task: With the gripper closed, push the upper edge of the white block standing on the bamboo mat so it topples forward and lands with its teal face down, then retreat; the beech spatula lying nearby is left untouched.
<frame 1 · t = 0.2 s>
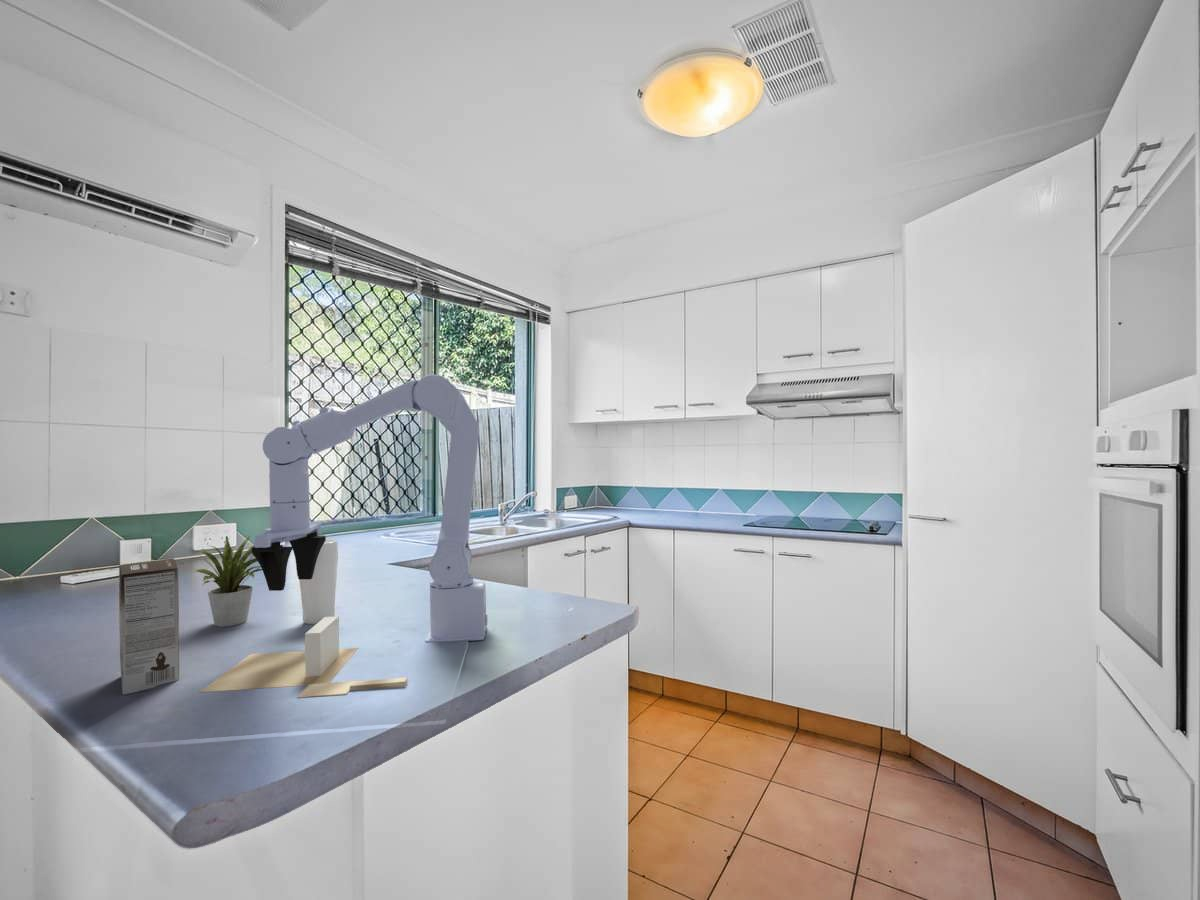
hand: (291, 584, 93), 10 cm above the counter, tool pointing down, fingers open, 7 cm apart
white block: (323, 665, 83), resting on bamboo mat
house plant: (229, 625, 105), on the counter
beech spatula: (355, 691, 75), on the counter
drinking glass: (318, 622, 106), on the counter
bamboo mat: (286, 670, 82), on the counter
coffee box: (150, 680, 80), on the counter
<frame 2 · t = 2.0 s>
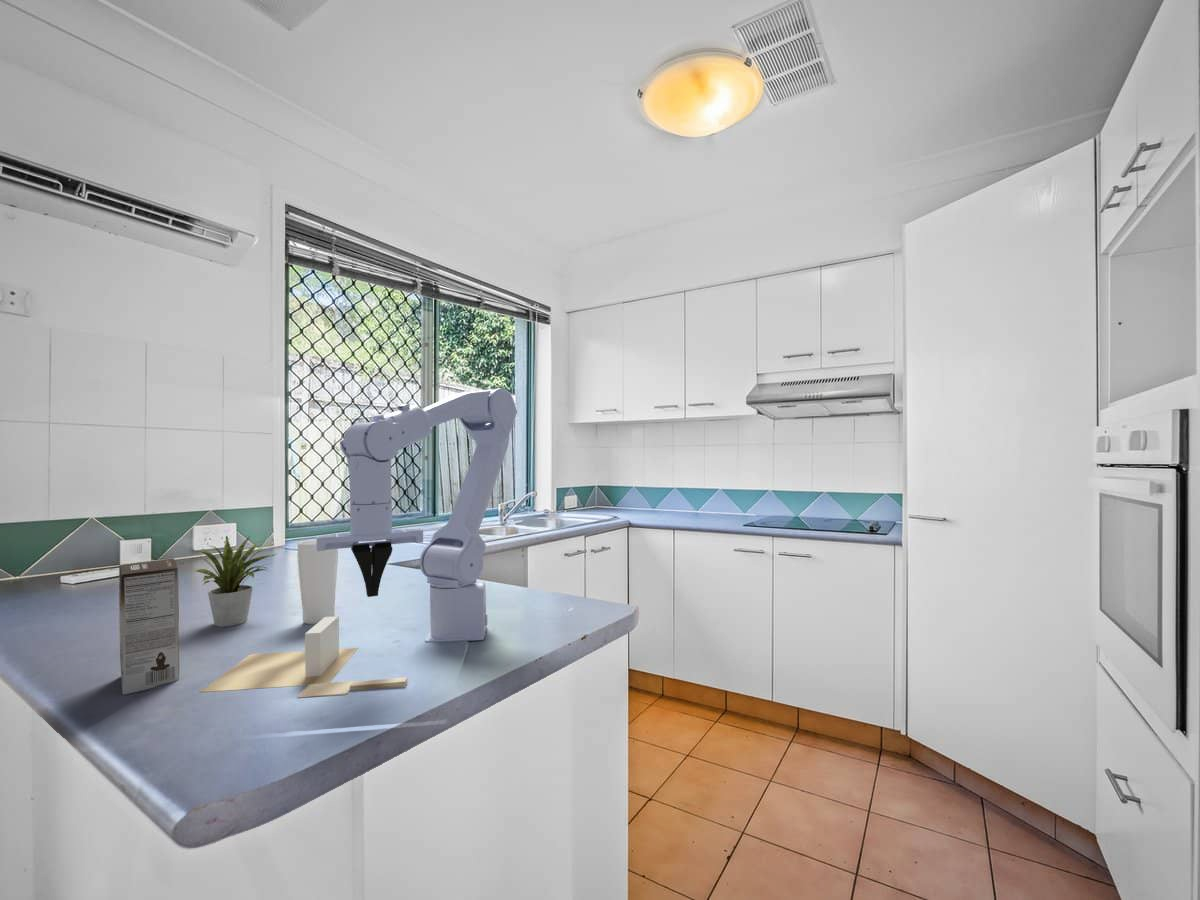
hand: (372, 595, 84), 10 cm above the counter, tool pointing down, fingers closed
nothing on the counter moved.
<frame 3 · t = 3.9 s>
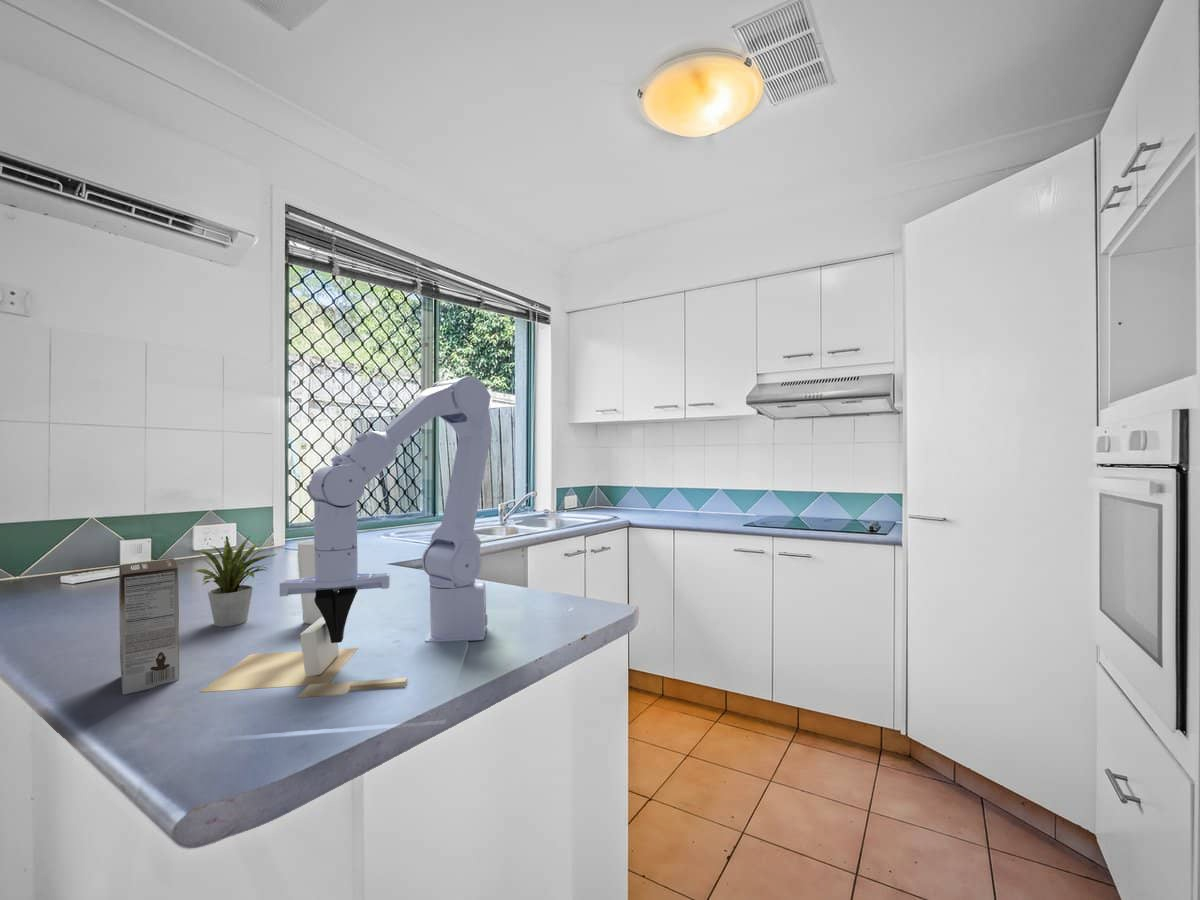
hand: (337, 640, 83), 4 cm above the counter, tool pointing down, fingers closed
white block: (323, 664, 83), point 1 cm above the counter, tilted 6°, touching bamboo mat
everything else where it was.
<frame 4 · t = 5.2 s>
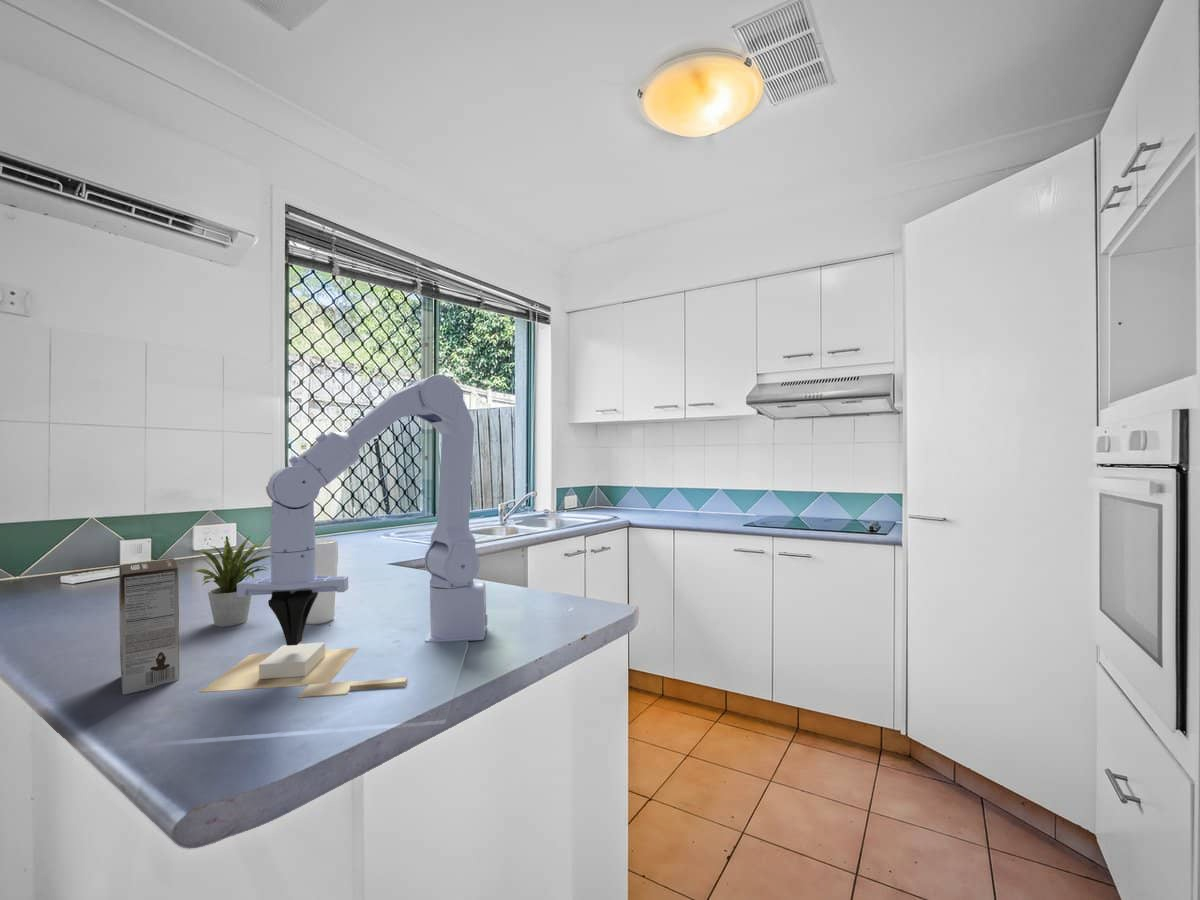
hand: (294, 643, 82), 4 cm above the counter, tool pointing down, fingers closed
white block: (315, 658, 83), point 1 cm above the counter, tilted 90°, touching bamboo mat
everything else where it was.
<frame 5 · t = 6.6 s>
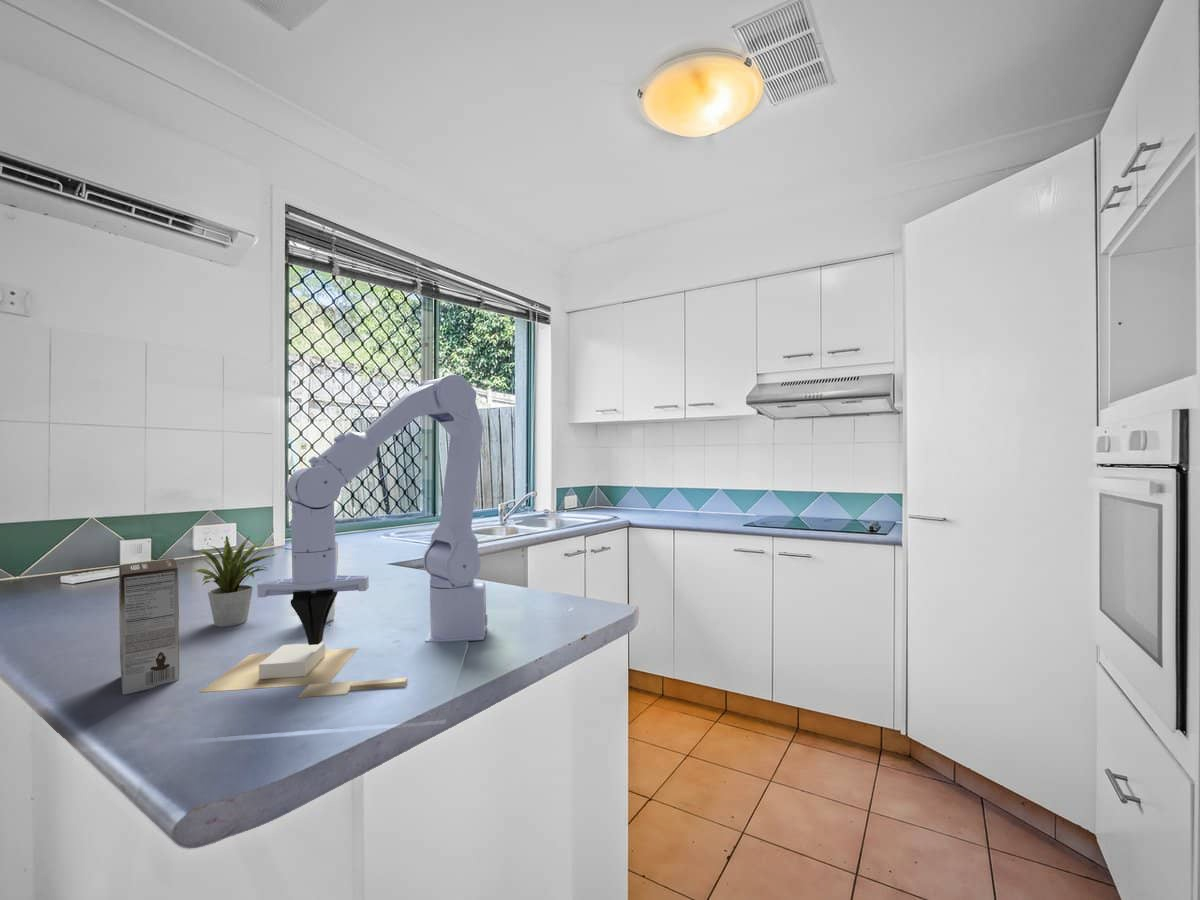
hand: (315, 642, 83), 4 cm above the counter, tool pointing down, fingers closed
nothing on the counter moved.
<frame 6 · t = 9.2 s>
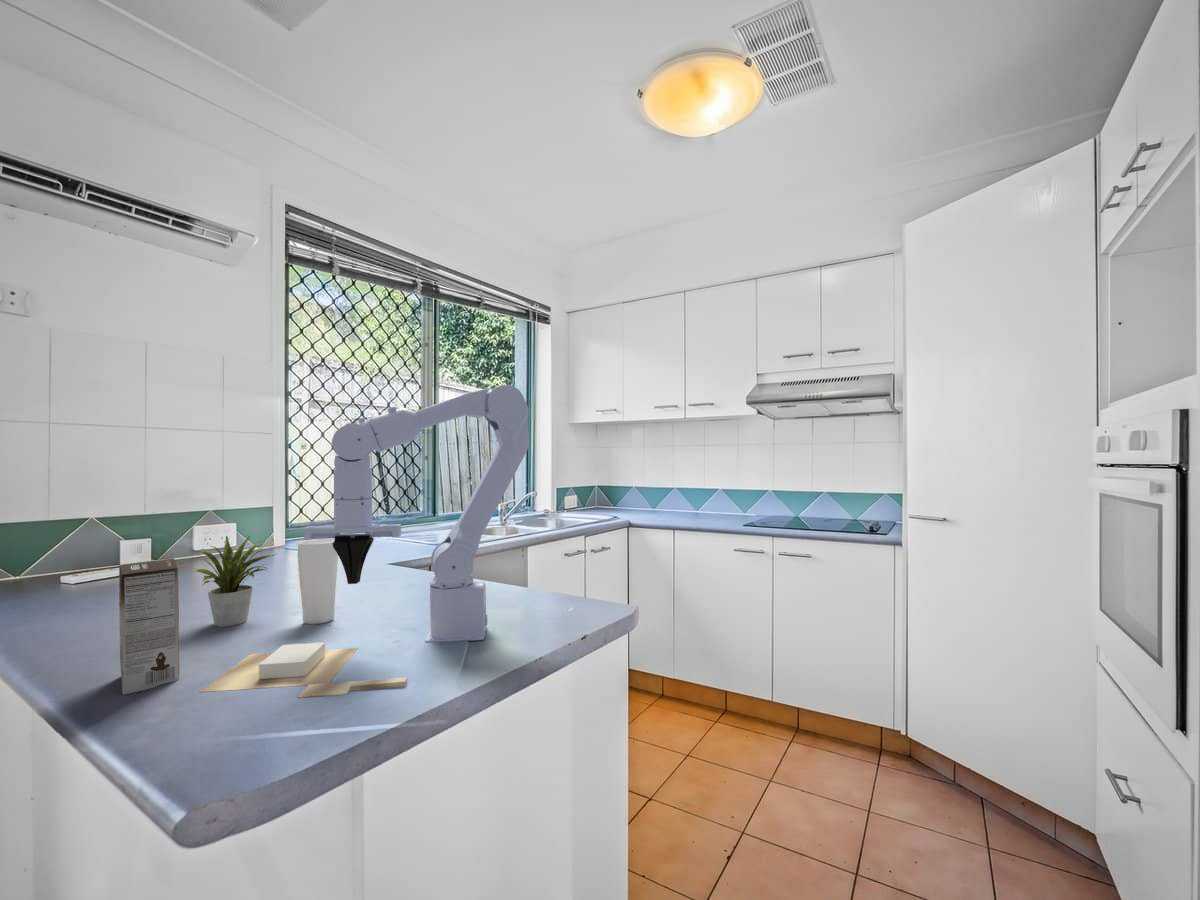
hand: (353, 582, 92), 10 cm above the counter, tool pointing down, fingers closed
nothing on the counter moved.
at the end: white block tilted 90°; white block inside the target area (2.5 cm from its centre), point 1.5 cm above the counter; beech spatula moved 0.1 cm from its start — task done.
